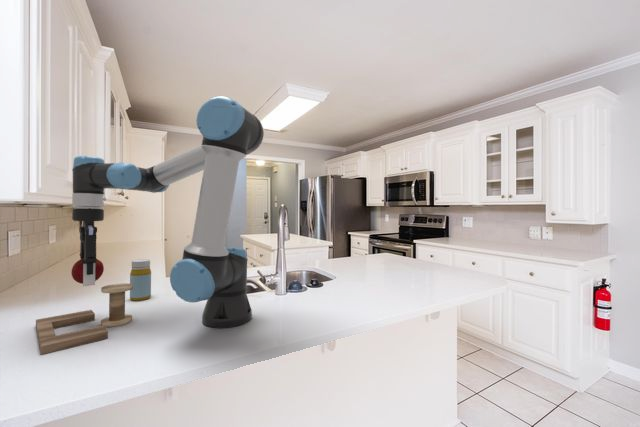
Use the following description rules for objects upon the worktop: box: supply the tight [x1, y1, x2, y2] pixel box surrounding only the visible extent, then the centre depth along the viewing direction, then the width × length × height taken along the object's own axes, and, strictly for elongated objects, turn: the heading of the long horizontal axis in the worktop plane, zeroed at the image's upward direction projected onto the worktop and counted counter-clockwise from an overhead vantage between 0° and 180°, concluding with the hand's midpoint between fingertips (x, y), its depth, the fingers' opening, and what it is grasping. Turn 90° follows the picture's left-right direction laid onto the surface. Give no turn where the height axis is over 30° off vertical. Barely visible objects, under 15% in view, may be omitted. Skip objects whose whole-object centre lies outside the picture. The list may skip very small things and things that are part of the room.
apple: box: [70, 258, 105, 285], centre depth 89 cm, size 8×8×8 cm
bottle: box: [129, 258, 152, 302], centre depth 114 cm, size 7×7×15 cm
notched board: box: [35, 309, 109, 355], centre depth 82 cm, size 24×13×2 cm, turn 46°
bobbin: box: [100, 282, 133, 328], centre depth 90 cm, size 8×8×11 cm
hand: (87, 282), depth 89 cm, fingers closed on apple, 8 cm apart
